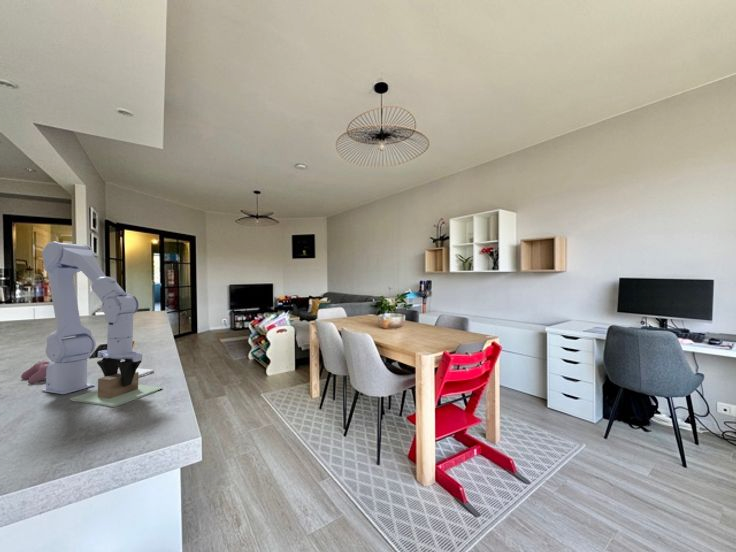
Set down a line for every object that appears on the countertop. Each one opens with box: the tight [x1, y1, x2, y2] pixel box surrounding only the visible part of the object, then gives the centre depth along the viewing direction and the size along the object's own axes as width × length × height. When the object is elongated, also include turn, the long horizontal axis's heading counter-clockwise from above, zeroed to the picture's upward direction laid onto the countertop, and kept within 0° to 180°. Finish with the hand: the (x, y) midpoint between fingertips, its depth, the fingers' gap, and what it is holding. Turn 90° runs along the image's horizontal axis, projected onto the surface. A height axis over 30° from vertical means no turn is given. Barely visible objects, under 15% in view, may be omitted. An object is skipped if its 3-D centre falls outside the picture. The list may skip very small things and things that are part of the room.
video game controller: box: [20, 360, 51, 385], centre depth 102 cm, size 10×5×7 cm, turn 58°
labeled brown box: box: [97, 372, 139, 399], centre depth 89 cm, size 8×4×5 cm, turn 165°
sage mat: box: [70, 383, 163, 408], centre depth 89 cm, size 16×14×1 cm
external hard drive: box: [136, 367, 155, 378], centre depth 106 cm, size 2×8×12 cm
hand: (119, 384), depth 89 cm, fingers open, 5 cm apart
